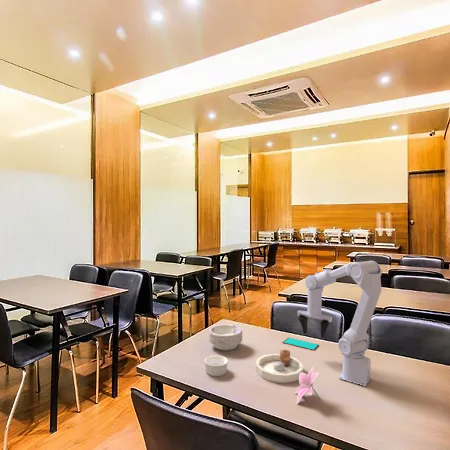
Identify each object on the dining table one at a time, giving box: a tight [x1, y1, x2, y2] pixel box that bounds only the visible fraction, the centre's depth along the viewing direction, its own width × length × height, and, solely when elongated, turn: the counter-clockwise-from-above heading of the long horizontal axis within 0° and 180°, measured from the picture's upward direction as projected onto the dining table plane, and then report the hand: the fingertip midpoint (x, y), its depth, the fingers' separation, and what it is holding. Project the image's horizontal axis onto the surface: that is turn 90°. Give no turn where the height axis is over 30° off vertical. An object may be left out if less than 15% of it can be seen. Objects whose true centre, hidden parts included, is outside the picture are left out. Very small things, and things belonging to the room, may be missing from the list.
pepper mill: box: [279, 349, 291, 367], centre depth 126 cm, size 4×4×5 cm
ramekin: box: [204, 354, 229, 377], centre depth 122 cm, size 9×9×4 cm
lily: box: [294, 366, 320, 405], centre depth 104 cm, size 12×12×10 cm
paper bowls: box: [208, 323, 243, 351], centre depth 145 cm, size 15×15×8 cm
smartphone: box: [282, 337, 320, 351], centre depth 149 cm, size 7×1×15 cm
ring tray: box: [255, 353, 304, 384], centre depth 123 cm, size 18×18×3 cm
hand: (313, 335), depth 135 cm, fingers open, 7 cm apart
